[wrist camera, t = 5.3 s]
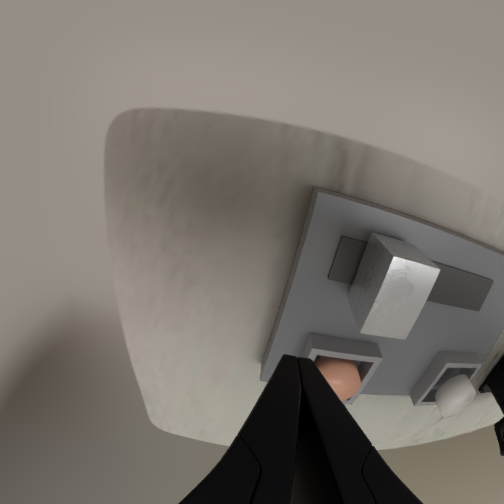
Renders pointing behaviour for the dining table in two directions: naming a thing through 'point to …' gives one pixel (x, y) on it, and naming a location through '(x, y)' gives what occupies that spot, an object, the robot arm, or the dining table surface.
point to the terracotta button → (340, 375)
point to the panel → (428, 322)
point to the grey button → (455, 395)
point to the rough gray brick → (390, 287)
